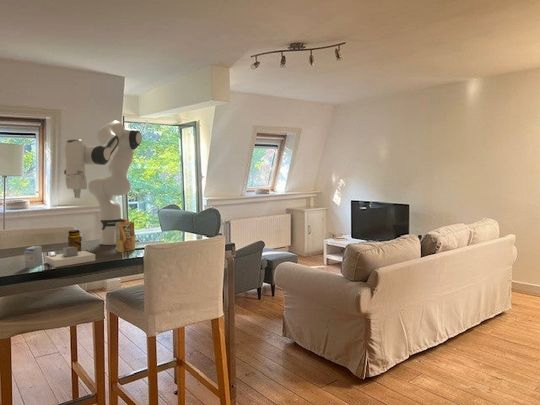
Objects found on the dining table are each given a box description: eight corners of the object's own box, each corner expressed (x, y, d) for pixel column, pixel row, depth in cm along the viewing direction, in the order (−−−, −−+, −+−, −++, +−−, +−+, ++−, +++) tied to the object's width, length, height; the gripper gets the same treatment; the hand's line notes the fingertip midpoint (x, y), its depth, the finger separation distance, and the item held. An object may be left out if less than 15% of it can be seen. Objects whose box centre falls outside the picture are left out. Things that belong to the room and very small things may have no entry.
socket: (85, 256, 214) (84, 249, 214) (95, 260, 204) (95, 253, 204) (45, 262, 202) (45, 255, 202) (55, 267, 192) (54, 259, 192)
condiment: (83, 253, 223) (82, 230, 222) (65, 255, 219) (64, 232, 218) (80, 251, 229) (79, 229, 228) (63, 253, 225) (62, 230, 224)
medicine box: (33, 264, 199) (31, 246, 198) (43, 264, 199) (41, 245, 199) (24, 268, 191) (23, 249, 190) (35, 268, 191) (34, 248, 191)
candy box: (131, 248, 232) (129, 221, 231) (135, 249, 230) (134, 221, 229) (116, 251, 226) (114, 222, 224) (121, 252, 223) (119, 223, 222)
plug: (74, 258, 207) (73, 246, 206) (78, 260, 203) (77, 247, 202) (63, 260, 203) (62, 247, 203) (66, 262, 200) (66, 249, 199)
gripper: (89, 170, 213) (91, 198, 214) (75, 171, 228) (77, 196, 229) (76, 170, 208) (78, 199, 209) (62, 171, 223) (64, 197, 224)
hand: (77, 198), depth 219 cm, fingers closed
